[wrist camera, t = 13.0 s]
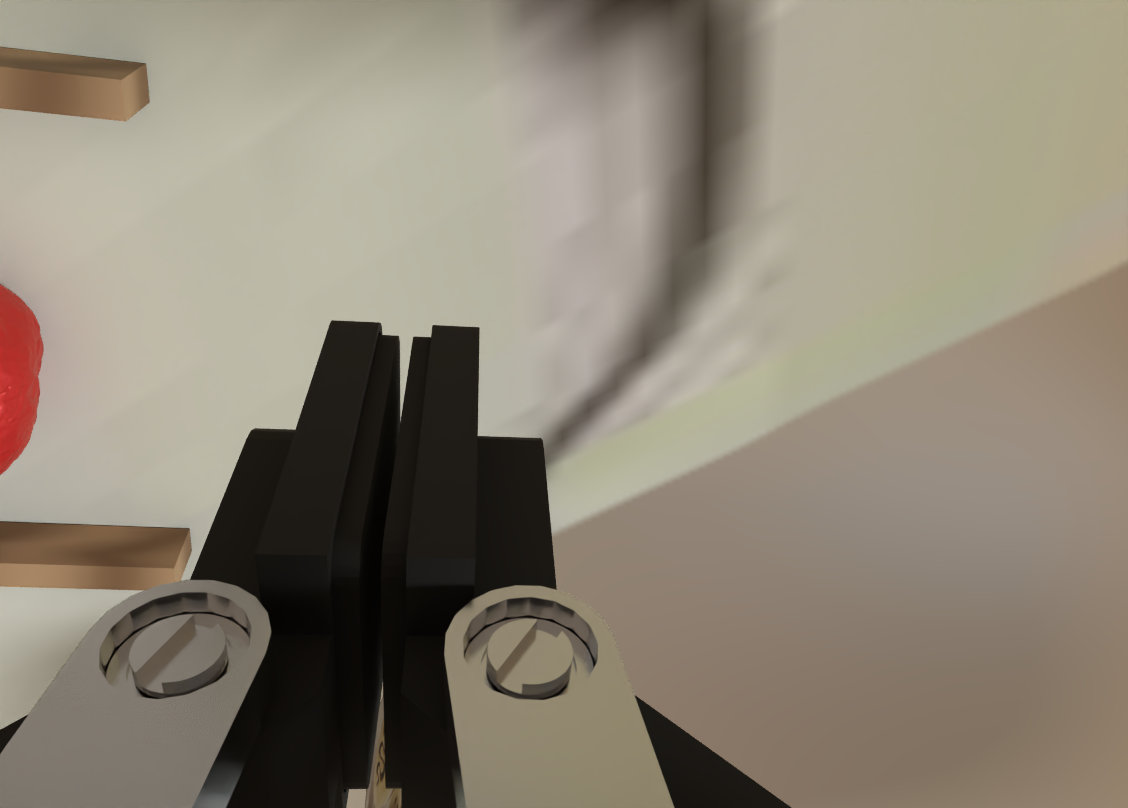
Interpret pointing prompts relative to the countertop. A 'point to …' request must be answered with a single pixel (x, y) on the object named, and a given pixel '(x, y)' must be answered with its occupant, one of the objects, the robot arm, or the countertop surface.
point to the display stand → (65, 548)
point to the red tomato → (17, 375)
